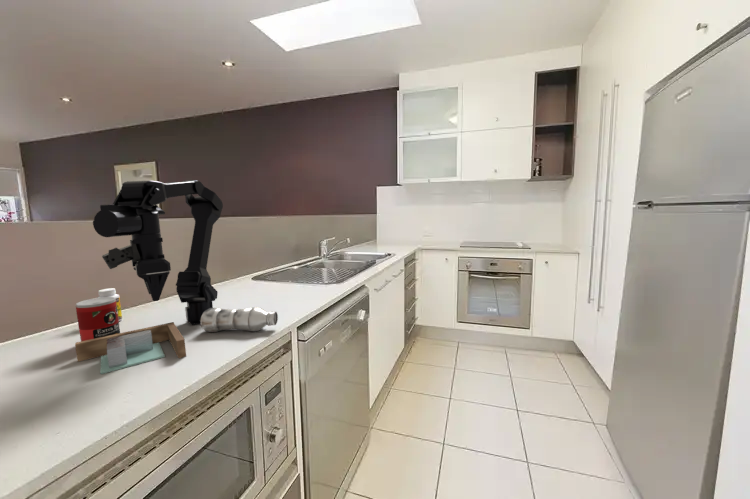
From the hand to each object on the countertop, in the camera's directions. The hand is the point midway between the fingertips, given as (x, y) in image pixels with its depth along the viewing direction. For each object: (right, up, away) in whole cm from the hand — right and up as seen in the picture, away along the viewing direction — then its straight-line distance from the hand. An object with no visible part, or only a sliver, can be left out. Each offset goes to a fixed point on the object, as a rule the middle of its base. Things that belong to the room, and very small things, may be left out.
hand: (153, 297), depth 77 cm
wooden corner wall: (-1, -13, -6) cm, 14 cm away
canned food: (-16, -12, +3) cm, 20 cm away
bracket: (-1, -12, -6) cm, 14 cm away
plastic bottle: (+7, -8, +9) cm, 14 cm away
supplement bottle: (-27, -11, +19) cm, 35 cm away
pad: (-1, -13, -6) cm, 14 cm away
